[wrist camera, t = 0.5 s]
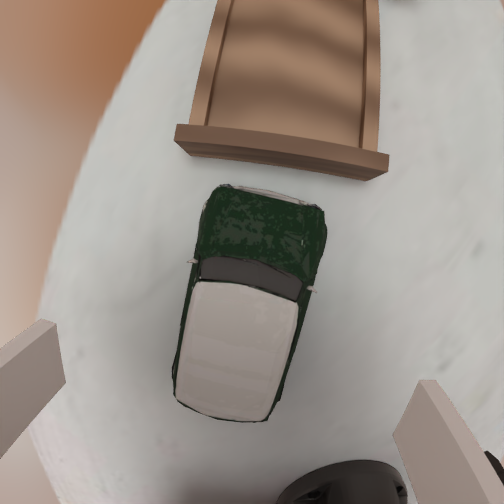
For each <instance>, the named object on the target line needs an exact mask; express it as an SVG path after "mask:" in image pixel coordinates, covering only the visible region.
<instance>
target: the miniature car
mask: <svg viewBox="0 0 504 504" xmlns="http://www.w3.org/2000/svg"><path fill="white" fill-rule="evenodd" d="M219 186H220V187H217V188H215V189H214V191H213V192H212V194H211V196H210V198H209V199H208V200H207V201H206V202H205V204H204V206H203V210H202V214H201V218H200V222H199V231H198V239H197V243H196V248H195V253H194V259H192V260H190V261H188V263H193V264H192V269H191V274H190V279H189V283H188V288H187V293H186V298H185V303H184V308H183V313H182V318H181V324H180V326H181V327H180V334H179V340H178V347H177V352H176V355H175V359H174V363H173V366H172V379H173V387H174V389H173V390H174V392H173V395H174V396H175V398H176V399H177V401H178V402H179V403H181V404H182V405H183V406H185V407H187V408H190V409H192V410H194V411H196V412H198V413H201V414H204V415H206V416H209V417H212V418H214V419H217V420H225V421H234V422H253V423H255V422H264V421H267V420H268V418H269V415H270V414H271V412H272V411H273V409H274V407H275V405H276V403H277V402H278V401H280V399H281V395H282V391H283V388H284V382H285V378H286V375H287V372H288V369H289V366H290V363H291V360H292V357H293V354H294V352H295V348H296V345H297V342H298V338H299V335H300V331H301V328H302V325H303V321H304V318H305V314H306V310H307V307H308V303H309V300H310V296H311V292H312V291H313V292H316V290H315V289H314V288H313V285H314V281H315V277H316V274H317V269H318V266H319V262H320V259H321V257H322V255H323V252H324V248H325V243H326V239H327V227H326V224H325V218H324V216H325V214H324V211H322V209H321V208H320V207H318V206H317V205H316V204H312V205H311V204H309V203H306V202H304V201H301V200H298V199H295V198H291V197H288V196H285V195H281V194H278V193H275V192H271V191H268V190H262V189H255V188H248V187H242V186H234V187H232V186H231V185H230V184H223V185H219ZM316 293H317V292H316Z"/></svg>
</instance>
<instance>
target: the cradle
mask: <svg viewBox="0 0 504 504" xmlns="http://www.w3.org/2000/svg"><path fill="white" fill-rule="evenodd" d="M379 110H380V24H379V5H378V0H218V1H217V5H216V8H215V12H214V16H213V19H212V23H211V27H210V31H209V35H208V38H207V42H206V46H205V51H204V55H203V59H202V63H201V67H200V72H199V76H198V81H197V85H196V90H195V95H194V99H193V104H192V109H191V114H190V119H189V124H177V126H176V131H175V137H174V141H175V142H176V143H177V144H178V145H179V146H180V147H181V148H183V149H184V150H185V151H186V152H187V153H188V154H189V155H190V156H199V157H209V158H219V159H228V160H237V161H245V162H253V163H260V164H268V165H275V166H282V167H289V168H295V169H301V170H308V171H314V172H320V173H325V174H331V175H336V176H342V177H347V178H352V179H358V180H363V181H368V180H370V179H373V178H375V177H377V176H379V175H382V174H384V173H386V172H388V166H389V155H388V154H383V153H379V152H377V146H378V130H379Z"/></svg>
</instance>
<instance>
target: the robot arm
mask: <svg viewBox="0 0 504 504" xmlns="http://www.w3.org/2000/svg"><path fill="white" fill-rule="evenodd" d="M65 383H66V380H65V376H64V370H63V365H62V359H61V353H60V347H59V341H58V334H57V326H56V323H53V322H50V321H47V320H44V319H40V320H38V321H37V322H36V323H34V324H33V325H31V326H30V327H29V328H27V329H26V330H25V331H23V332H22V333H20V334H19V335H18V336H16V337H15V338H14V339H12V340H11V341H9V342H8V343H7V344H5V345H4V346H3V347H1V348H0V459H1V457H2V456H3V455H4V454H5V453H6V451H7V450H8V449H9V448H10V447H11V445H12V444H13V443H14V442H15V441H16V439H17V438H18V437H19V436H20V435H21V433H22V432H23V431H24V430H25V429H26V428H27V426H28V425H29V424H30V423H31V422H32V421H33V419H34V418H35V417H36V416H37V415H38V414H39V412H40V411H41V410H42V409H43V408H44V407H45V406H46V404H47V403H48V402H49V401H50V400H51V399H52V398H53V397H54V395H55V394H56V393H57V392H58V391H59V390H60V389H61V388H62V386H63V385H64V384H65ZM393 437H394V439H395V442H396V444H397V447H398V450H399V452H400V455H401V457H402V460H403V463H404V465H405V468H406V471H407V473H408V476H409V479H410V481H411V484H412V487H413V490H414V492H415V495H416V498H417V501H418V504H504V469H503V467H502V465H501V464H500V462H499V460H498V459H497V458H495V457H494V456H493V455H492V454H491V453H490V452H488V451H485V452H483V450H482V449H481V447H480V445H479V444H478V442H477V441H476V439H475V437H474V436H473V434H472V433H471V431H470V430H469V428H468V427H467V425H466V423H465V422H464V420H463V419H462V417H461V416H460V414H459V413H458V411H457V410H456V408H455V407H454V405H453V404H452V402H451V401H450V399H449V398H448V397H447V395H446V394H445V392H444V391H443V389H442V388H441V386H440V385H439V383H438V382H437V381H436V380H419V382H418V384H417V386H416V389H415V391H414V393H413V395H412V397H411V400H410V402H409V404H408V406H407V408H406V410H405V412H404V414H403V416H402V418H401V420H400V422H399V424H398V426H397V428H396V429H395V431H394V433H393ZM277 504H407V489H406V486H405V484H404V482H403V480H402V478H401V476H400V474H399V472H398V471H397V470H396V469H395V468H393V467H392V466H390V465H388V464H385V463H381V462H377V461H350V462H344V463H339V464H334V465H331V466H327V467H324V468H321V469H319V470H316V471H314V472H312V473H309V474H307V475H305V476H304V477H302V478H300V479H298V480H297V481H295V482H294V483H293V484H291V485H290V486H289V487H288V488H287V489H286V490H285V491H284V492H283V493H282V494H281V496H280V497H279V499H278V501H277Z"/></svg>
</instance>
